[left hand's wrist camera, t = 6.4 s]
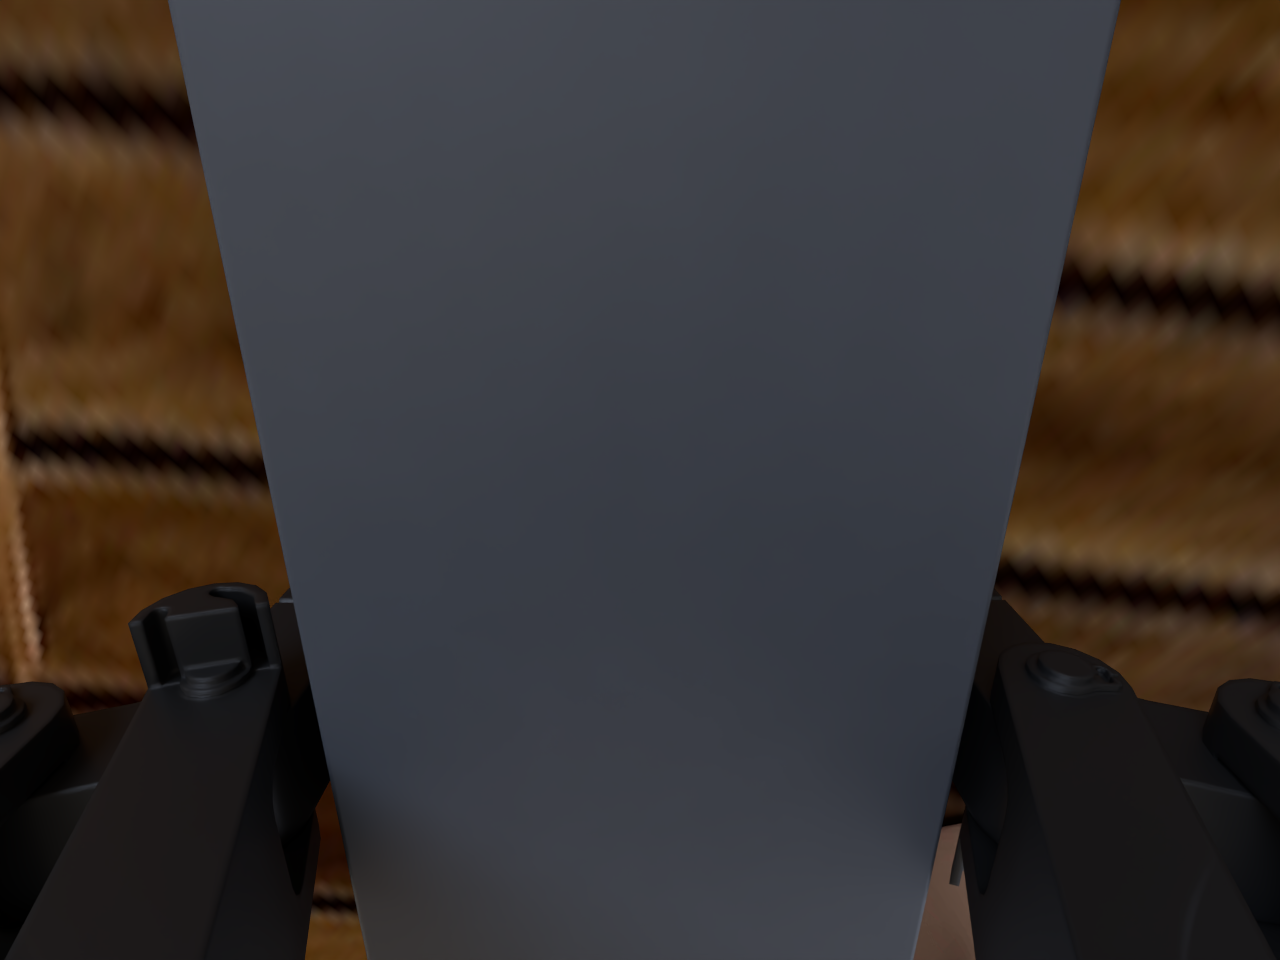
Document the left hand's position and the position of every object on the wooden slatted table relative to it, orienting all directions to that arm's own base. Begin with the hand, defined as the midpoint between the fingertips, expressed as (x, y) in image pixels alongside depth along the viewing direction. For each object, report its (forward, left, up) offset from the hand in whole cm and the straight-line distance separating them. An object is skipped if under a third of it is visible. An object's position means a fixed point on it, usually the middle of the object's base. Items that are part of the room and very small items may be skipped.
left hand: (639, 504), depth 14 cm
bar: (-2, +22, -1) cm, 23 cm away
